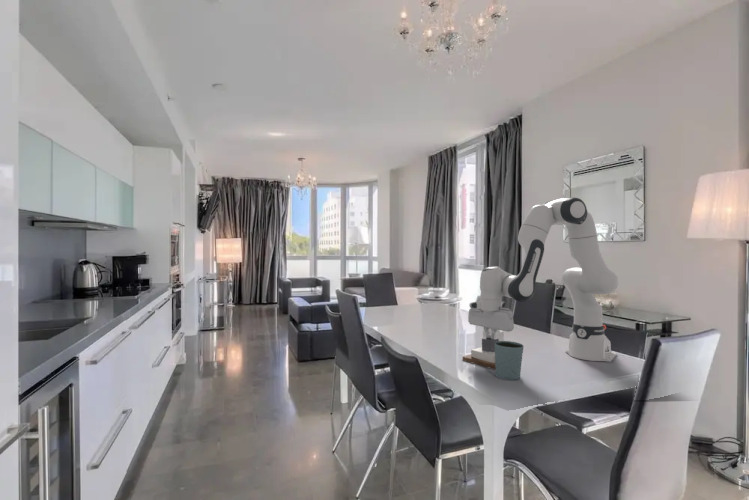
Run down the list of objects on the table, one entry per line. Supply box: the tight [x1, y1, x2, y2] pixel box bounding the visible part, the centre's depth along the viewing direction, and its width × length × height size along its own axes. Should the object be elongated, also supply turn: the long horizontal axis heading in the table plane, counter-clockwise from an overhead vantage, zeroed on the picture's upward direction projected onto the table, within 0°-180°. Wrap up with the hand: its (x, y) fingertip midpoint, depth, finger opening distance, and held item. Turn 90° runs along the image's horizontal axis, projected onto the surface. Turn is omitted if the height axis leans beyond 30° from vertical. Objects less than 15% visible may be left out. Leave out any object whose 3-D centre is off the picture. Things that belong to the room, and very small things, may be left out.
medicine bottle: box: [482, 328, 505, 341], centre depth 192 cm, size 7×7×12 cm
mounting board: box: [462, 353, 496, 370], centre depth 166 cm, size 16×16×2 cm
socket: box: [470, 346, 495, 363], centre depth 166 cm, size 11×11×4 cm
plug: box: [481, 337, 499, 352], centre depth 166 cm, size 7×4×6 cm, turn 129°
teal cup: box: [494, 340, 525, 381], centre depth 146 cm, size 10×10×12 cm
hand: (490, 338), depth 166 cm, fingers closed, pressing on plug
